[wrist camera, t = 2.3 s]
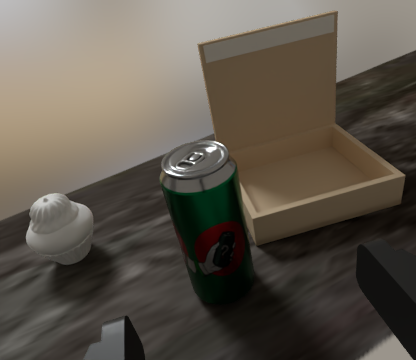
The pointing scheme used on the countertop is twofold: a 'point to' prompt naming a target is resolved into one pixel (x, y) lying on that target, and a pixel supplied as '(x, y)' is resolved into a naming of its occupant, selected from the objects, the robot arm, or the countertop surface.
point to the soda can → (209, 219)
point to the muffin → (60, 229)
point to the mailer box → (291, 130)
